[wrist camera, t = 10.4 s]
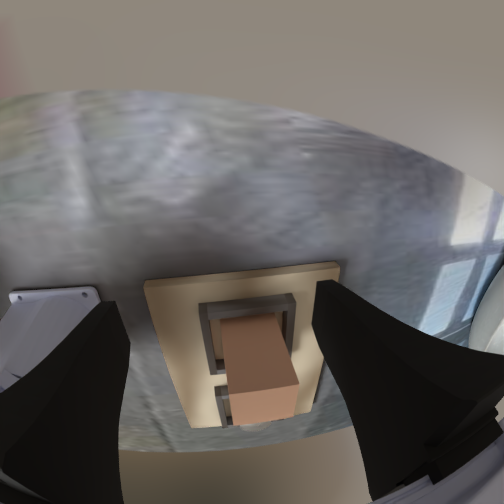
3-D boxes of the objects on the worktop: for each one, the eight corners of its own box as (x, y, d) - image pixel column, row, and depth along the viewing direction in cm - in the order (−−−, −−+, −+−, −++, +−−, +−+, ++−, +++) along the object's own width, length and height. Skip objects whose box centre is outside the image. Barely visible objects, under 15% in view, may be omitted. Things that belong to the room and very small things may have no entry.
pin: (237, 409, 27) (240, 433, 24) (235, 394, 25) (239, 419, 23) (265, 405, 27) (270, 428, 24) (265, 390, 26) (271, 415, 23)
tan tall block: (223, 352, 22) (233, 425, 16) (219, 315, 20) (229, 394, 14) (271, 347, 23) (292, 416, 17) (273, 310, 21) (299, 384, 15)
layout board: (191, 421, 28) (192, 436, 26) (145, 280, 19) (140, 298, 17) (308, 405, 30) (313, 419, 28) (335, 261, 21) (347, 276, 19)
